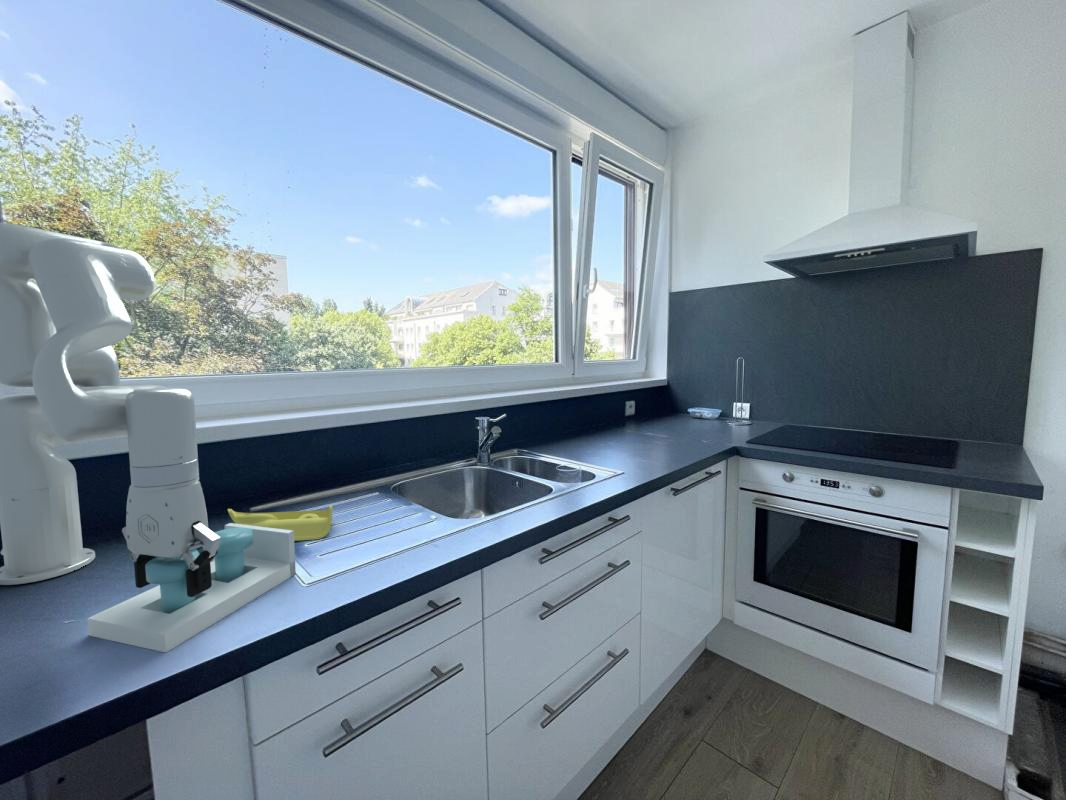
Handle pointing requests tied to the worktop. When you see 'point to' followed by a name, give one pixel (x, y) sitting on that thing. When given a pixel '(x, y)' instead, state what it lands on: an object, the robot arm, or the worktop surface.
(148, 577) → the teal round plug
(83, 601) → the worktop surface
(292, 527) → the plastic component
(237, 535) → the teal flanged peg
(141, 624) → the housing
